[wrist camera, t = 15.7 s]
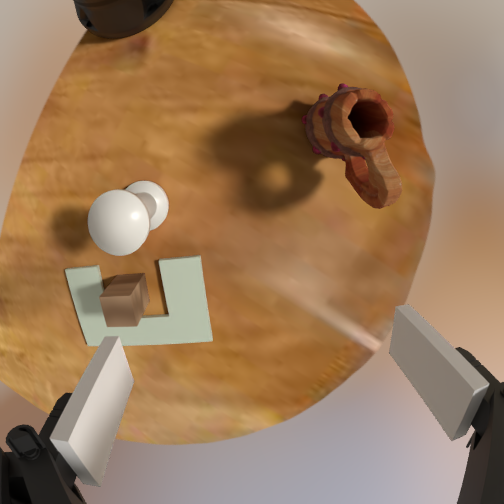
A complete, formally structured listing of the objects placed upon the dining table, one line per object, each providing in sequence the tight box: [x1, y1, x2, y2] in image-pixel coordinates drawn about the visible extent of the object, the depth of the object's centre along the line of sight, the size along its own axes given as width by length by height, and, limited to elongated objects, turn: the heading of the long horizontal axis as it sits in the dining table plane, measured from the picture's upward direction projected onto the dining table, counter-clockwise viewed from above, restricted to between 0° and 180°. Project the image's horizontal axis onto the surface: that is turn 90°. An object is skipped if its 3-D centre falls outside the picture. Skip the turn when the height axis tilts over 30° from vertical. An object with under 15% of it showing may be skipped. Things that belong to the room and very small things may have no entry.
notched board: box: [65, 255, 213, 346], centre depth 47 cm, size 14×22×1 cm, turn 95°
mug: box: [302, 84, 402, 209], centre depth 35 cm, size 15×8×15 cm, turn 21°
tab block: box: [99, 273, 150, 327], centre depth 42 cm, size 4×4×8 cm
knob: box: [88, 180, 169, 256], centre depth 37 cm, size 7×7×12 cm
